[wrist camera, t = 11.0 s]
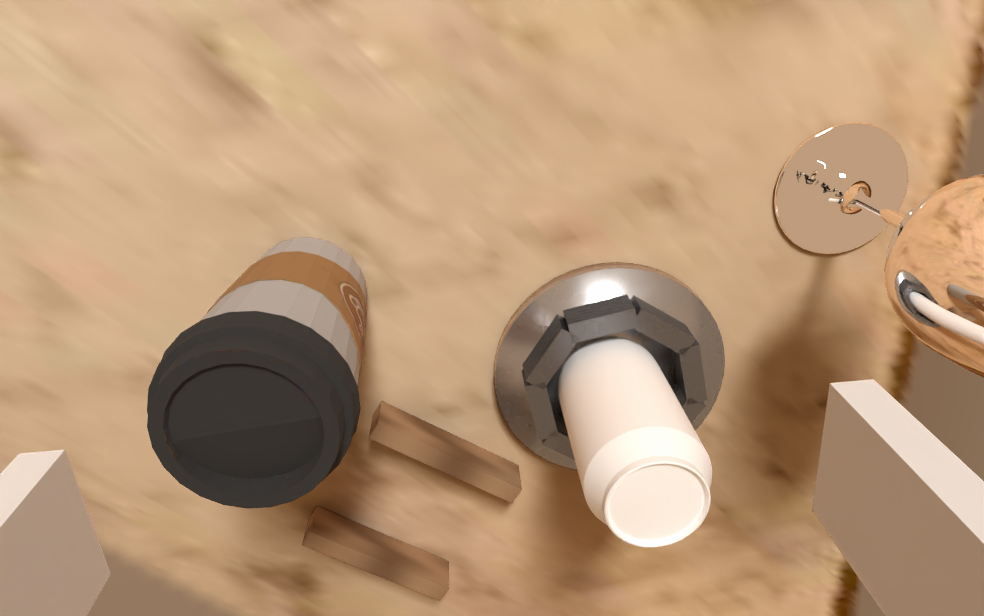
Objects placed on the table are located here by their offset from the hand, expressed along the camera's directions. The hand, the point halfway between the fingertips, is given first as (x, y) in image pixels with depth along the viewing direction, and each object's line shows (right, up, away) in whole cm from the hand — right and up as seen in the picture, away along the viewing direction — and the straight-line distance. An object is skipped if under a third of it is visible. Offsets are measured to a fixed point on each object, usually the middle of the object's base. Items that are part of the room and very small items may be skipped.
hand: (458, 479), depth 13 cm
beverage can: (+7, -1, +31) cm, 32 cm away
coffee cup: (-10, +4, +29) cm, 31 cm away
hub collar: (+8, -1, +32) cm, 33 cm away
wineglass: (+20, +10, +28) cm, 36 cm away
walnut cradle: (-5, -9, +35) cm, 37 cm away
